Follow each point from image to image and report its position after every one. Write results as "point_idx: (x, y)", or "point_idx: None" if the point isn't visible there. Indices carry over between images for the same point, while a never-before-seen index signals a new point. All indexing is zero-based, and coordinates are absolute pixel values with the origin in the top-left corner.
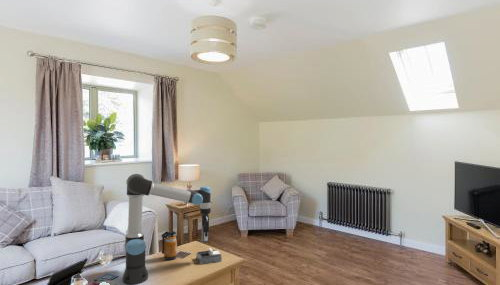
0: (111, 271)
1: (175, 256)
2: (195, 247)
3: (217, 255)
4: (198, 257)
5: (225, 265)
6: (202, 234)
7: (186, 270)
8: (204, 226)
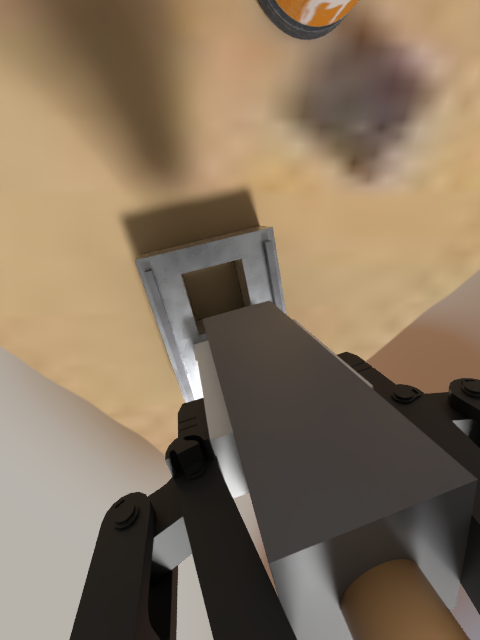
0: None
1: (284, 16)
2: (455, 217)
3: (185, 390)
4: (189, 246)
5: (119, 414)
6: (245, 362)
7: (3, 139)
8: (238, 620)
